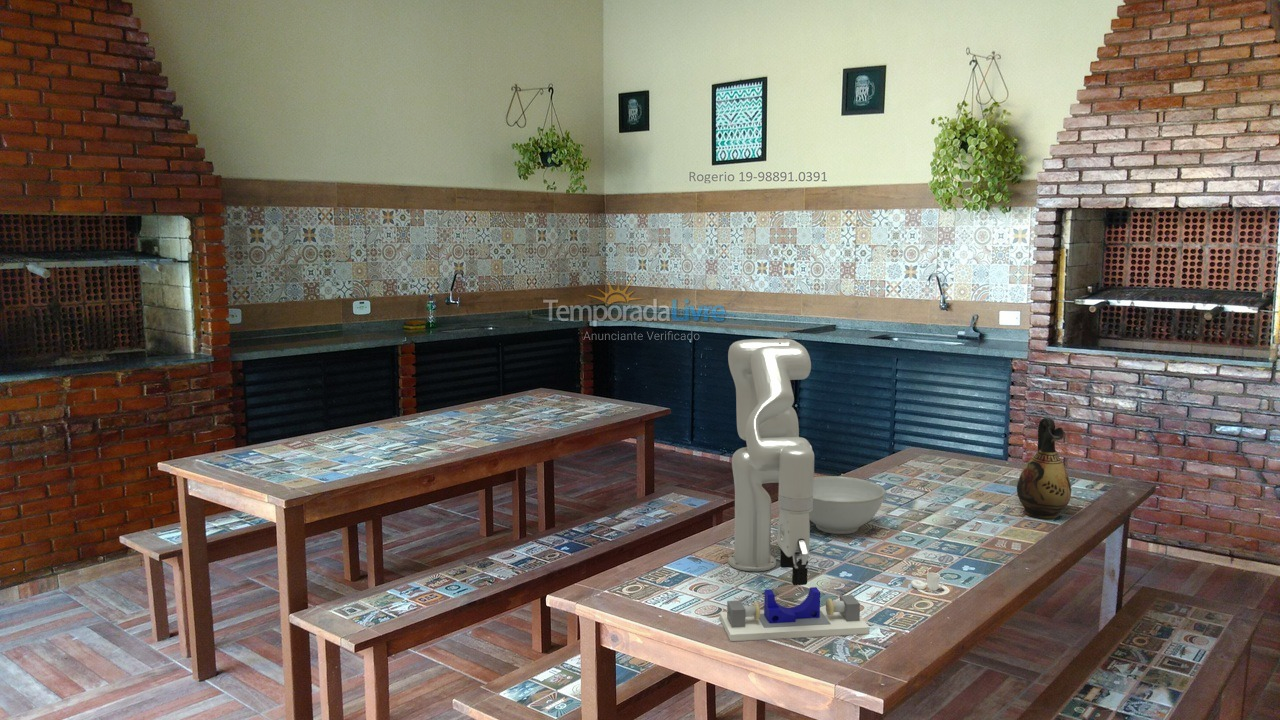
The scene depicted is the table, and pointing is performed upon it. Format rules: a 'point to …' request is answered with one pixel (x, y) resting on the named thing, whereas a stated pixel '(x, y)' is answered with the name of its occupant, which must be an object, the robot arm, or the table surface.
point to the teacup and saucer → (930, 584)
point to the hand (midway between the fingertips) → (793, 575)
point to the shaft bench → (832, 622)
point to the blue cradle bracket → (791, 608)
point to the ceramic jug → (1045, 476)
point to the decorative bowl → (844, 503)
